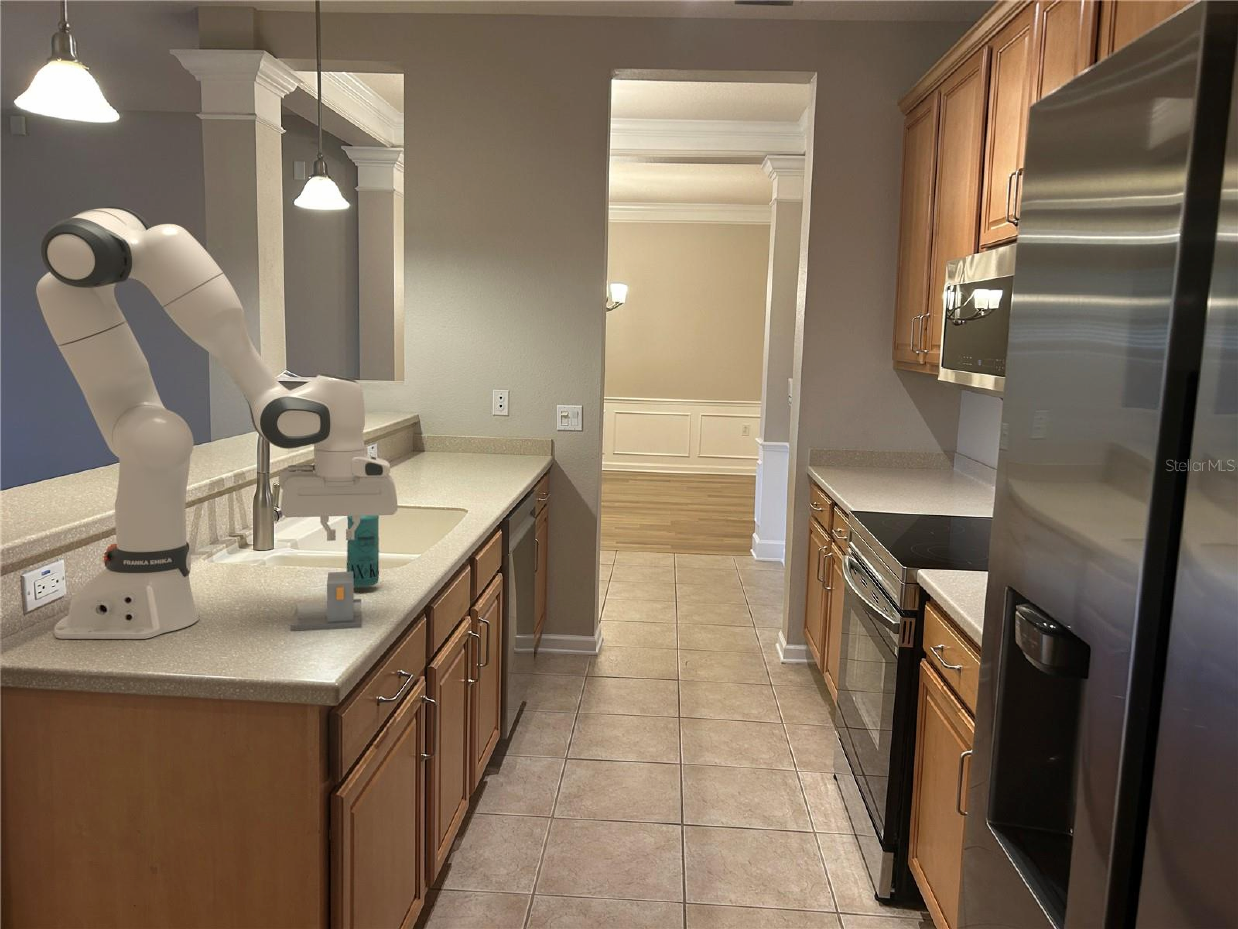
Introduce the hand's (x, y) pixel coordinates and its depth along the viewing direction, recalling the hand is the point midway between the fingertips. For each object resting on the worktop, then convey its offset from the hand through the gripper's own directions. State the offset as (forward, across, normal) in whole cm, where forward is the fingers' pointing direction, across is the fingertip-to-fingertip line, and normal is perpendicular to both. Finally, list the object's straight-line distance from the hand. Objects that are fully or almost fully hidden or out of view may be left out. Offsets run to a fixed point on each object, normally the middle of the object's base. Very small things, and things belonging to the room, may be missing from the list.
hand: (340, 539), depth 166 cm
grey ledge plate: (+15, -2, 0) cm, 15 cm away
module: (+14, 0, 0) cm, 14 cm away
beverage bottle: (+15, +4, +20) cm, 25 cm away
